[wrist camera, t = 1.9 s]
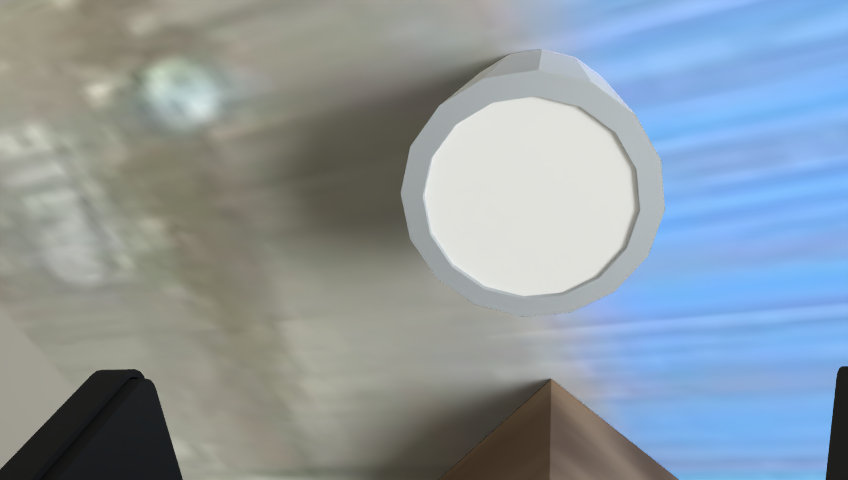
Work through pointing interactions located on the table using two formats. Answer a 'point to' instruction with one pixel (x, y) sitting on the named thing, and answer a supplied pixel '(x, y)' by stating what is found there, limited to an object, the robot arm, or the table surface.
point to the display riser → (556, 446)
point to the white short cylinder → (533, 187)
